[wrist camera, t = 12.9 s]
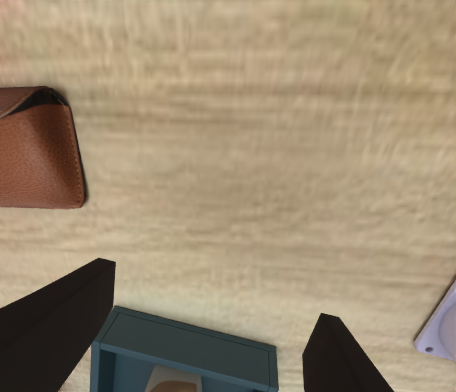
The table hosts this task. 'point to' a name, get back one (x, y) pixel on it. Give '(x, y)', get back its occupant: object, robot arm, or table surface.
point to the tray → (176, 355)
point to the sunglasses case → (38, 151)
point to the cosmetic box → (173, 380)
